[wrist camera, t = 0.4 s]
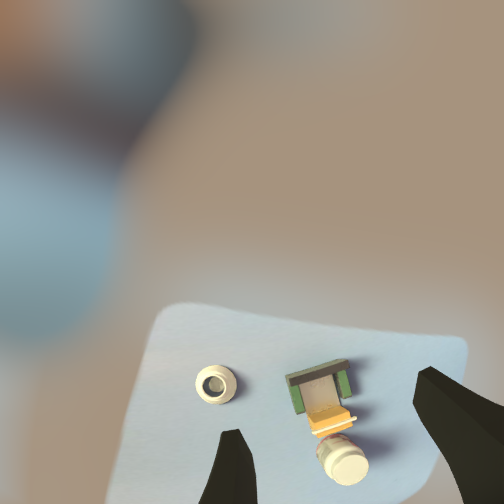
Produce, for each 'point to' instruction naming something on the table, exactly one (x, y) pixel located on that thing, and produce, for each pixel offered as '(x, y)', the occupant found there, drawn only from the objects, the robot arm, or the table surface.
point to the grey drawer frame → (319, 387)
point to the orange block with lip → (331, 421)
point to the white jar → (217, 384)
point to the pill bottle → (342, 459)
